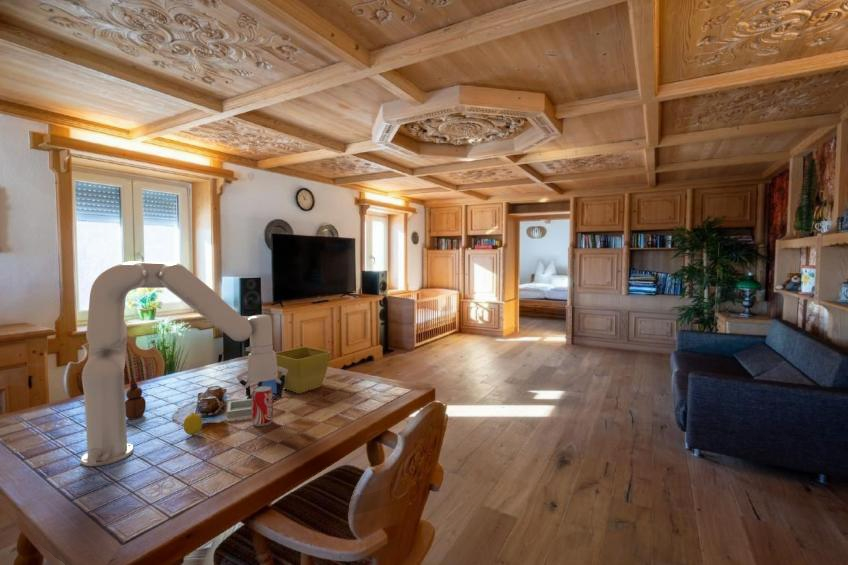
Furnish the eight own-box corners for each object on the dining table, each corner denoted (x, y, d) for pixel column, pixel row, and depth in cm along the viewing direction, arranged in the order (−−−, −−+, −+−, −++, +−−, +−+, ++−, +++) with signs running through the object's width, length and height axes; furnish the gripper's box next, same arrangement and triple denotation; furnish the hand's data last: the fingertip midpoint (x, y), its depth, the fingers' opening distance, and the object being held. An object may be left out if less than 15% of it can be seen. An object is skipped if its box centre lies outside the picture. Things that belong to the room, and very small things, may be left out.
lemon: (199, 430, 141) (199, 408, 140) (204, 435, 137) (204, 412, 136) (181, 435, 137) (181, 412, 136) (186, 441, 133) (185, 417, 132)
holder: (259, 417, 152) (259, 408, 152) (227, 422, 148) (226, 412, 148) (258, 405, 164) (258, 397, 164) (228, 409, 160) (228, 400, 160)
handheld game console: (245, 401, 170) (245, 383, 170) (260, 392, 181) (260, 376, 180) (272, 403, 167) (271, 385, 167) (286, 394, 178) (285, 378, 178)
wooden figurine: (133, 421, 148) (131, 381, 147) (120, 420, 149) (118, 380, 148) (149, 414, 154) (148, 376, 153) (137, 413, 156) (135, 375, 155)
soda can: (248, 423, 147) (247, 388, 146) (267, 417, 152) (267, 383, 151) (257, 429, 142) (256, 393, 141) (276, 422, 147) (276, 388, 147)
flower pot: (305, 379, 200) (305, 345, 199) (331, 386, 189) (331, 351, 187) (271, 389, 184) (271, 353, 183) (297, 398, 173) (297, 359, 172)
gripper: (234, 354, 139) (237, 402, 140) (287, 348, 145) (289, 394, 147) (235, 349, 145) (237, 395, 147) (285, 344, 152) (287, 388, 154)
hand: (263, 395), depth 147 cm, fingers open, 9 cm apart
